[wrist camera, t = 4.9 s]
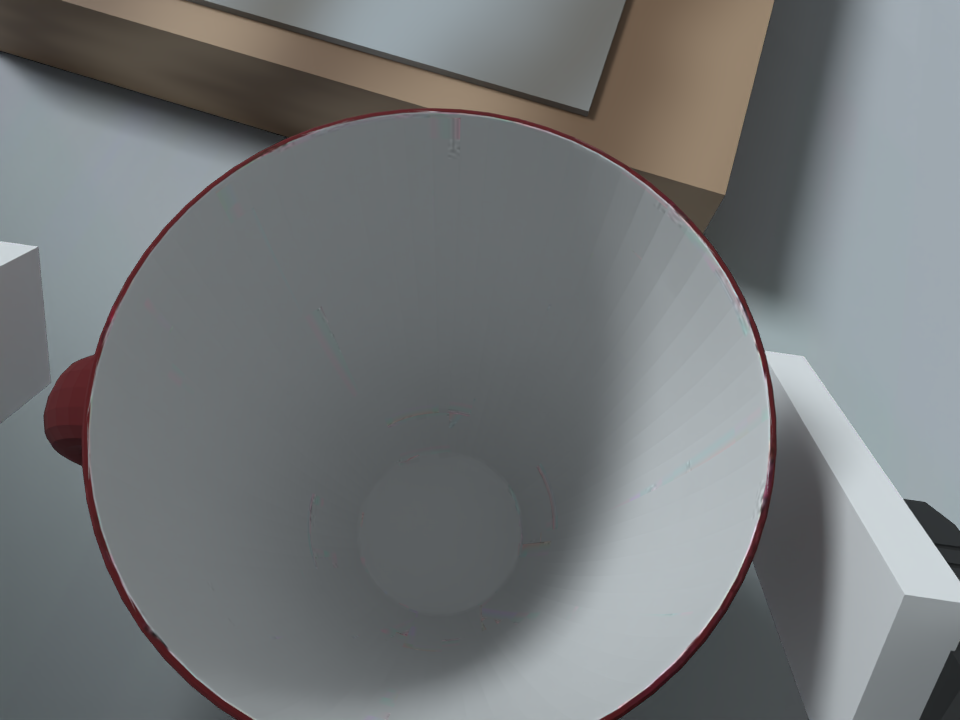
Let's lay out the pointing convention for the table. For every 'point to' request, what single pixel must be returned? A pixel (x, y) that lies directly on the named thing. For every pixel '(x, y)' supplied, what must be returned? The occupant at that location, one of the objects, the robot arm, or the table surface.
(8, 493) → the table surface
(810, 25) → the table surface
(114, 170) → the table surface
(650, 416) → the mug
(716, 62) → the plinth
